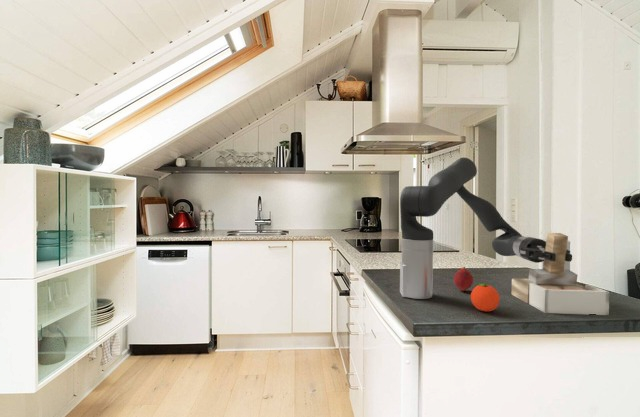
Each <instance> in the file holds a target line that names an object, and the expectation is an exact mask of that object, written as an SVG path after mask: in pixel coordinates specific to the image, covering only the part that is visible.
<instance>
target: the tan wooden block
mask: <svg viewBox="0 0 640 417" xmlns="http://www.w3.org/2000/svg"><path fill="white" fill-rule="evenodd" d="M530 283H534V282H533V281H531V280H530V279H529V278H517V277H515V278H511V295H512V296H514V297H515V298H517V299H519V300H521V301H522V302H524V303H525V304H528V305H530V304H529V287H530ZM534 284H535V283H534ZM536 285H538V286H541V287H557V288H560V289H562V290H564V287H575V288H583V289H585V285H581V284H579V283H576V285H564V284H536Z"/></svg>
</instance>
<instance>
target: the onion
mask: <svg viewBox="0 0 640 417" xmlns="http://www.w3.org/2000/svg"><path fill="white" fill-rule="evenodd" d="M453 275H454V276H453V282H454V285H455V286H456V287H457V288H458V289H459V290H460V291H461V292H465V291H467V290H469V289H470V288H471V287H472V286H473V284H474V277H473V275H472V273H471V272H470V271H469V270H467V269H466V266H464V265H463V266H461V269H459V270H458V271H457V270H456V272H455V274H453Z"/></svg>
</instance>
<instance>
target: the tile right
mask: <svg viewBox="0 0 640 417" xmlns="http://www.w3.org/2000/svg"><path fill="white" fill-rule="evenodd" d="M564 290H585V289H583V288H575V287H564ZM587 291H588V290H587Z"/></svg>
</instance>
